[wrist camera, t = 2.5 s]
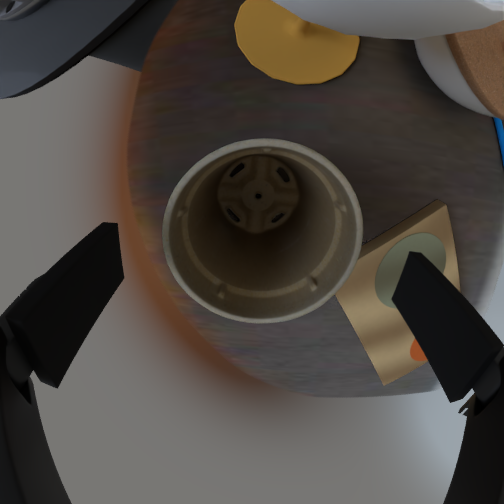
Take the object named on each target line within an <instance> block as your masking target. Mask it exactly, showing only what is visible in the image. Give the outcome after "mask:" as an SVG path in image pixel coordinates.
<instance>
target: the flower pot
mask: <svg viewBox="0 0 504 504" xmlns="http://www.w3.org/2000/svg"><path fill="white" fill-rule="evenodd" d="M240 163H242V164H243V165H244V169H242V170H240V171H239V172H238V173H237V174H235V176H233V177H231V176H230V174H231V173H232V171H233V170H234V169H235V168H236V167H237V166H238V165H239V164H240ZM278 168H283V169H284V170H285V172H286V173H287V175H288V177H289V181H288V182H285V181H284V180H283V179H282V178H281V176H280V175H279V174H278V173H277V172H276V170H277V169H278ZM257 193H258V194H261V198H256V197H255V195H256V194H257ZM227 209H231V211H232V212H233V213H234V214H235V215H236V216H237V217H238V218H239V219H240V221H238V222H237V221H235V220H233V219H232V218H231V217H230V216H229V215H228V212H227ZM281 213H283V214H284V215H283V216H282V217H281V218H280V219H279V220H277V221H276V222H272V219H274V218H275V217H276V215H279V214H281ZM362 238H363V219H362V213H361V208H360V206H359V202H358V200H357V196H356V194H355V192H354V190H353V189H352V186H351V185H350V183H349V182H348V180H347V179H346V177H345V176H344V175H343V174H342V172H341V171H340V170H339V169H338V168H337V167H336V166H335V165H334V164H333V163H332V162H330V161H329V160H328V159H327V158H325V157H324V156H322V155H321V154H319V153H317V152H316V151H314V150H312V149H310V148H308V147H306V146H303V145H300V144H297V143H293V142H290V141H285V140H279V139H251V140H245V141H240V142H235V143H232V144H229V145H227V146H224V147H222V148H220V149H218V150H216V151H214V152H212V153H210V154H209V155H207V156H206V157H204V158H203V159H202V160H200V161H199V162H198V163H196V164H195V165H194V166H193V167H192V168H191V169H190V170H189V171H188V172H187V173H186V174H185V175H184V176H183V178H182V179H181V180H180V181H179V183H178V184H177V186H176V187H175V189H174V191H173V193H172V195H171V197H170V199H169V202H168V205H167V207H166V211H165V215H164V220H163V228H162V240H163V246H164V253H165V256H166V260H167V264H168V266H169V268H170V269H171V272H172V274H173V275H174V277H175V279H176V280H177V282H178V283H179V284H180V286H181V287H182V288H183V289H184V290H185V291H186V292H187V293H188V294H189V296H191V298H193V299H194V300H196V301H197V302H198V303H200V304H201V305H202V306H204V307H206V308H207V309H209V310H210V311H212V312H214V313H216V314H219V315H221V316H223V317H226V318H229V319H233V320H237V321H241V322H248V323H276V322H282V321H287V320H291V319H294V318H297V317H300V316H302V315H305V314H307V313H309V312H311V311H313V310H315V309H316V308H318V307H320V306H322V305H323V304H324V303H325V302H326V301H327V300H329V299H330V298H331V297H332V296H333V295H334V294H335V293H336V292H337V291H338V290H339V289H340V288H341V287H342V286H343V285H344V283H345V282H346V280H347V279H348V278H349V275H350V274H351V273H352V271H353V269H354V267H355V265H356V263H357V259H358V257H359V254H360V250H361V245H362Z"/></svg>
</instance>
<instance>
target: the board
mask: <svg viewBox="0 0 504 504" xmlns="http://www.w3.org/2000/svg"><path fill="white" fill-rule="evenodd" d="M409 251H413V252H421V253H422V254H423V255H424V256H425V257H426V258H427V259H428V260H429V261H430V262H432V263H433V264H434V265H435V266H436V267H437V268H438V269H439V270H440V271H441V273H442V274H443V275H444V276H445V277H446V278H447V279H448V280H449V281H450V282H451V283H452V284H453V285H454V286H455V287H456V288H457V289H458V290H459V292H460V282H459V273H458V265H457V258H456V251H455V245H454V239H453V233H452V228H451V223H450V219H449V214H448V210H447V206H446V204H444V203H443V202H441V201H439V200H438V199H437V200H435V201H434V202H432V203H431V204H429V205H428V206H426V207H424V208H423V209H421V210H420V211H418V212H417V213H415V214H413V215H412V216H410V217H409V218H407V219H405V220H404V221H402V222H401V223H399V224H397V225H396V226H394V227H393V228H391V229H389V230H388V231H386V232H384V233H383V234H381V235H379V236H378V237H376V238H374V239H373V240H371V241H369V242H368V243H366V244H364V245H362V246H361V250H360V254H359V257H358V259H357V263H356V265H355V267H354V269H353V271H352V273H351V274H350V275H349V278H348V279H347V280H346V282H345V283H344V285H343V286H342V287H341V288H340V289H339V290H338V291H337V292H336V293H335V295H336V297H337V299H338V301H339V302H340V304H341V306H342V308H343V310H344V311H345V313H346V315H347V317H348V319H349V320H350V322H351V324H352V326H353V328H354V329H355V331H356V333H357V335H358V337H359V339H360V341H361V342H362V344H363V346H364V348H365V350H366V352H367V354H368V356H369V358H370V359H371V361H372V363H373V365H374V367H375V369H376V371H377V373H378V375H379V377H380V379H381V381H382V383H383V385H386V384H388V383H390V382H392V381H394V380H396V379H398V378H400V377H402V376H404V375H405V374H407V373H409V372H411V371H412V370H414V369H416V368H418V367H419V366H421V365H423V364H424V363H426V362H428V360H425V361H416V360H414V359H412V358H411V356H410V348H411V345H412V343H413V341H414V339H415V337H414V335H413V334H412V332H411V330H410V329H409V327H408V325H407V324H406V322H405V320H404V319H403V317H402V316H401V314H400V312H399V311H398V309H397V308H396V306H395V305H394V303H393V302H392V300H391V298H392V296H393V294H394V291H395V289H396V286H397V284H398V281H399V279H400V276H401V273H402V271H403V268H404V265H405V262H406V260H407V257H408V254H409Z"/></svg>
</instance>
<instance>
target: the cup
mask: <svg viewBox="0 0 504 504" xmlns="http://www.w3.org/2000/svg"><path fill="white" fill-rule="evenodd" d="M502 20H504V0H246V1H245V2H244V3H243V4H242V5H241V6H240V9H239V12H238V15H237V18H236V21H235V24H234V27H235V32H236V37H237V43H238V46H239V48H240V49H241V50H242V52H243V53H244V55H245V56H246V57H247V59H248V60H249V62H250V63H251V64H252V65H253V66H255V67H256V68H258V69H260V70H261V71H263V72H264V73H266V74H267V75H269V76H270V77H271V78H274V79H278V80H282V81H286V82H289V83H293V84H296V85H300V84H320V83H323V82H326V81H328V80H330V79H332V78H335V77H337V76H339V75H342V74H343V73H344V72H345V70H346V69H347V68H348V67H349V66H350V65H351V64H352V63H353V61H354V60H355V58H356V54H357V50H358V46H359V42H360V40H359V36H368V37H376V38H384V39H408V40H415V39H420V38H425V37H431V36H438V35H445V34H452V33H457V32H463V31H469V30H476V29H483V28H485V27H488V26H490V25H493V24H495V23H497V22H500V21H502Z"/></svg>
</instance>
